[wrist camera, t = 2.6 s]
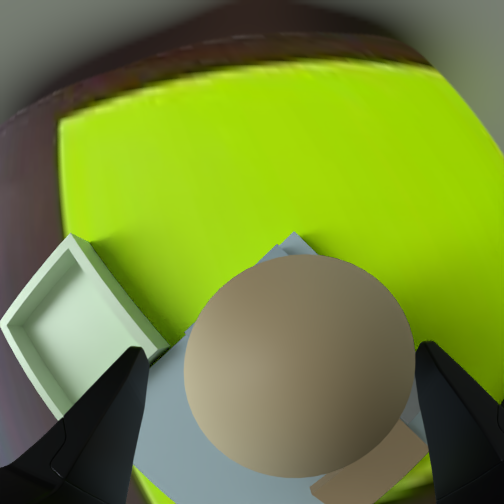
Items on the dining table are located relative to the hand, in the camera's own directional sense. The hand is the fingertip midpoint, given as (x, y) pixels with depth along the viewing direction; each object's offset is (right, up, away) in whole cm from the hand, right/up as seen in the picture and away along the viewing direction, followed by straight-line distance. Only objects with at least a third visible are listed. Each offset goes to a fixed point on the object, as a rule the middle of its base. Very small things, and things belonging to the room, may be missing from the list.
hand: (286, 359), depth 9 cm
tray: (-13, -3, +10) cm, 16 cm away
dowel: (0, -1, +8) cm, 8 cm away
